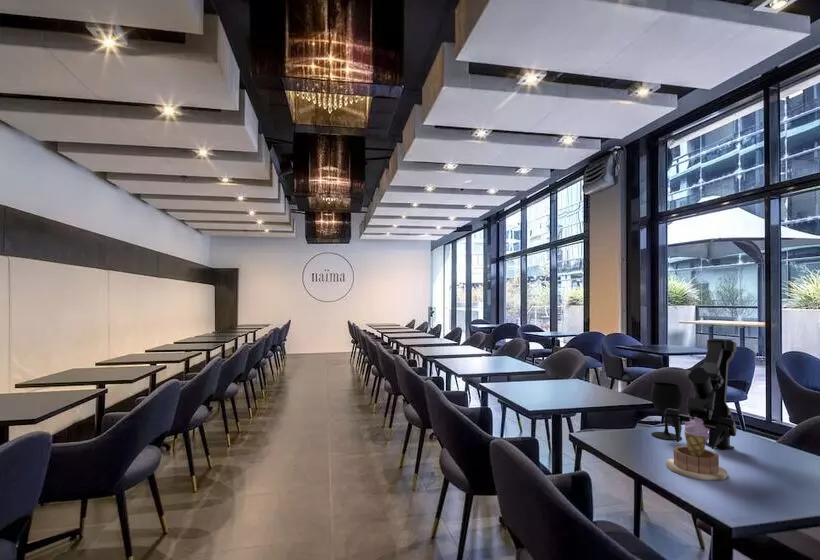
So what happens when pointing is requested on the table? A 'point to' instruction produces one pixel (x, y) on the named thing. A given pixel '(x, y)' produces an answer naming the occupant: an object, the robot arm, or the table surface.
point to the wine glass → (665, 404)
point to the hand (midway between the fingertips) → (694, 444)
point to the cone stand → (696, 465)
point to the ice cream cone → (696, 436)
